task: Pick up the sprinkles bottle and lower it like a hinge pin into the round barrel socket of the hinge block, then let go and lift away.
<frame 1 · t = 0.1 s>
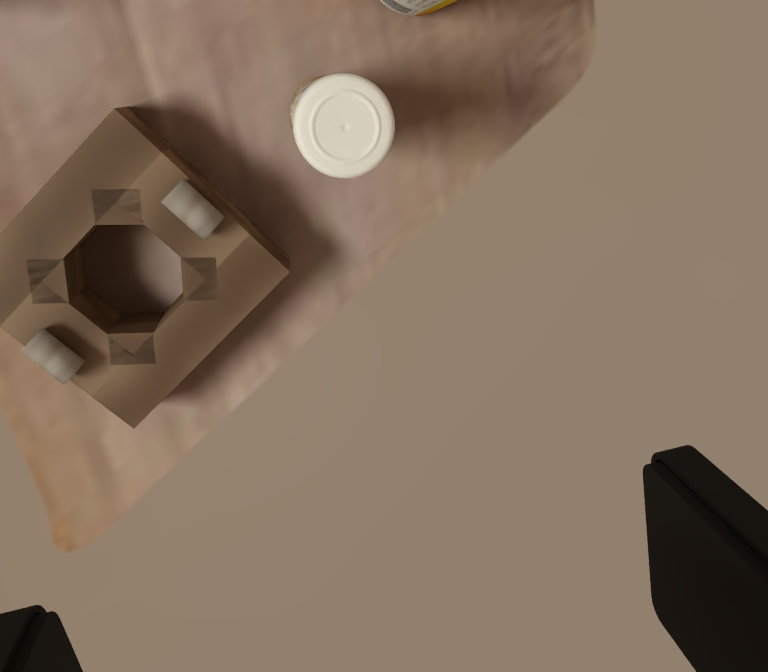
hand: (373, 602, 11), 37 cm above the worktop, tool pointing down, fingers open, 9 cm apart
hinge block: (137, 264, 45), on the worktop
sprinkles bottle: (325, 115, 44), on the worktop
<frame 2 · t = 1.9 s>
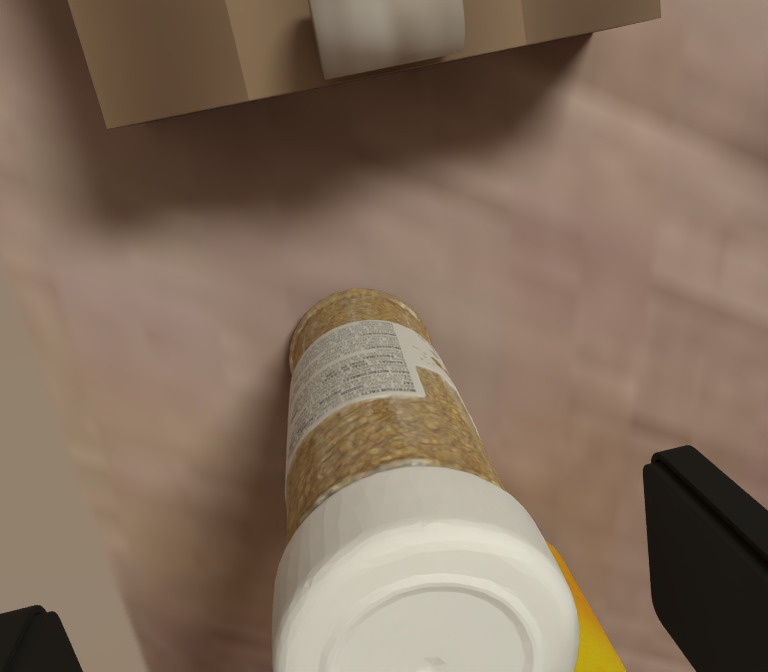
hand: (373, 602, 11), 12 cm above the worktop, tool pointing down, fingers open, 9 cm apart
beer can: (480, 581, 26), on the worktop
sprinkles bottle: (358, 350, 23), on the worktop
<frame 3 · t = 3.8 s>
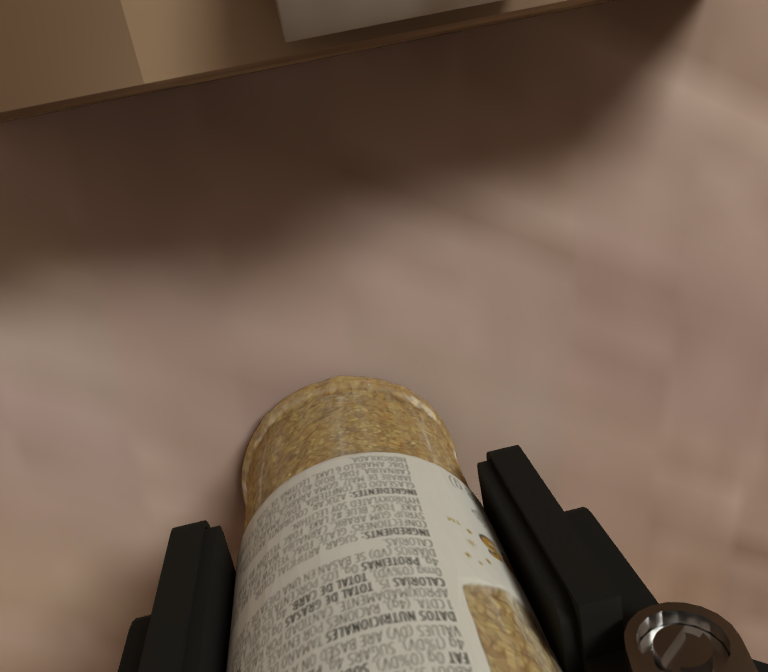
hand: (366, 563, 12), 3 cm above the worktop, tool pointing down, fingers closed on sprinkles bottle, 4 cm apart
sprinkles bottle: (346, 461, 15), on the worktop, touching gripper
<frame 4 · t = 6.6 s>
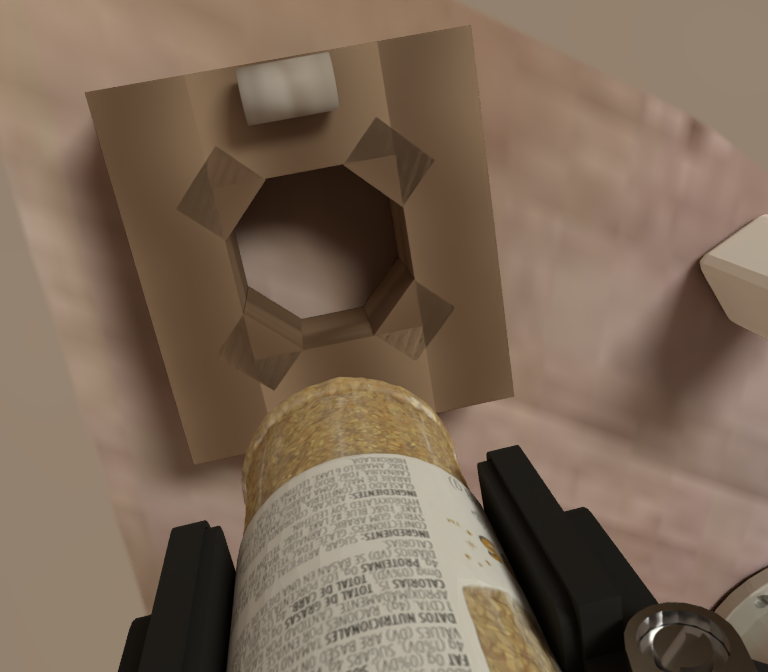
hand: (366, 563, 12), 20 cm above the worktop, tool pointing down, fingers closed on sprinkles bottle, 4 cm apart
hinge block: (317, 239, 30), on the worktop
pepper shaker: (742, 265, 33), on the worktop
sprinkles bottle: (346, 462, 15), point 16 cm above the worktop, touching gripper
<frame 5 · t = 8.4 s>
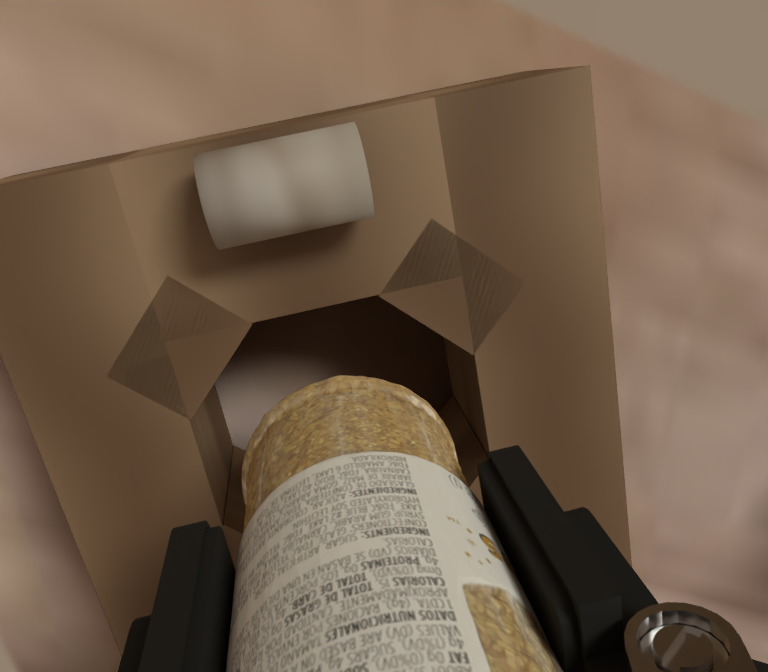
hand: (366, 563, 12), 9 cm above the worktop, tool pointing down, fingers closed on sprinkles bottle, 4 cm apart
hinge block: (334, 376, 20), on the worktop
sprinkles bottle: (346, 460, 15), point 5 cm above the worktop, touching gripper
when the fingers open (5 cm above the worktop, at t = 9.8 s): sprinkles bottle drops 2 cm, resting in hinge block.
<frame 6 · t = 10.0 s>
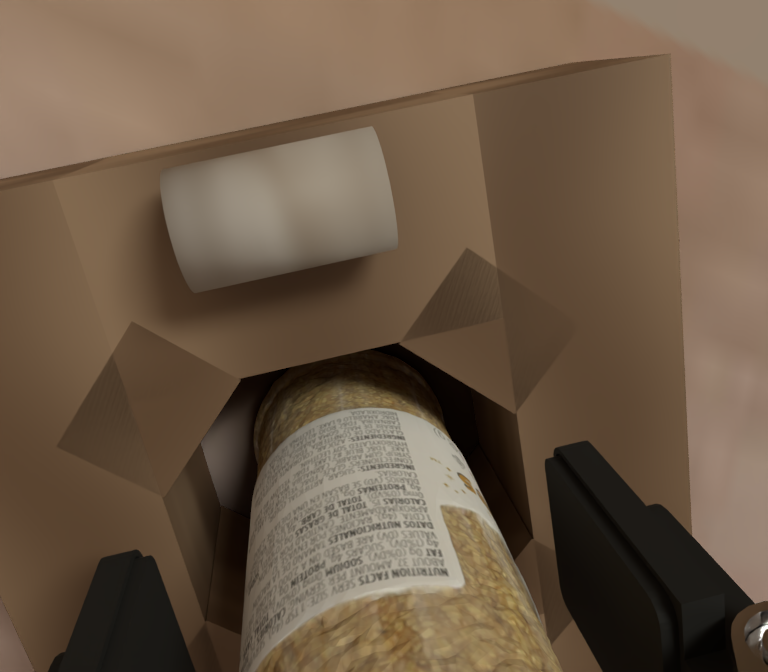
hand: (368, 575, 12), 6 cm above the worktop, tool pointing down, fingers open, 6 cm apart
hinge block: (339, 424, 17), on the worktop
sprinkles bottle: (346, 425, 17), resting in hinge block
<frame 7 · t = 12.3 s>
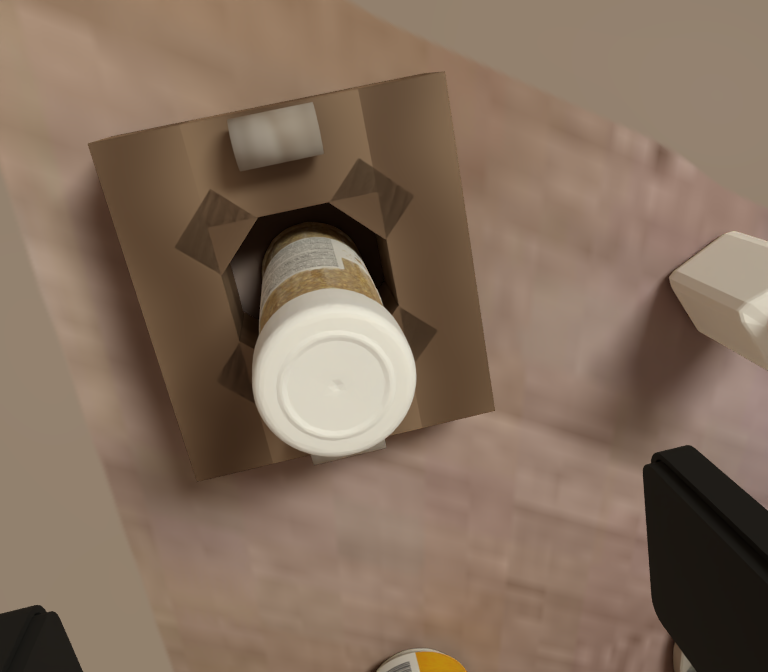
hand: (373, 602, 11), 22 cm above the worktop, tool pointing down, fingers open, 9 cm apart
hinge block: (307, 267, 32), on the worktop
pepper shaker: (709, 279, 35), on the worktop
sprinkles bottle: (311, 268, 32), resting in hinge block
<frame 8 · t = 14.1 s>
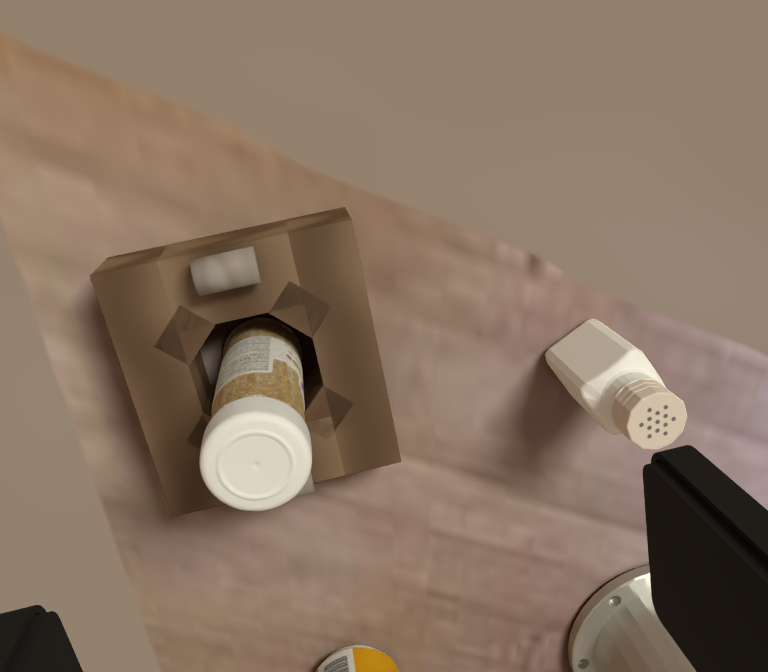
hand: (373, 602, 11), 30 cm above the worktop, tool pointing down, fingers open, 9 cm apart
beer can: (354, 671, 50), on the worktop
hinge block: (259, 349, 41), on the worktop
pepper shaker: (579, 354, 45), on the worktop
sprinkles bottle: (262, 350, 42), resting in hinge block
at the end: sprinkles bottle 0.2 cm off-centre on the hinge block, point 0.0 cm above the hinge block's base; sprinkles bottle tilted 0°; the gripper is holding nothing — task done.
